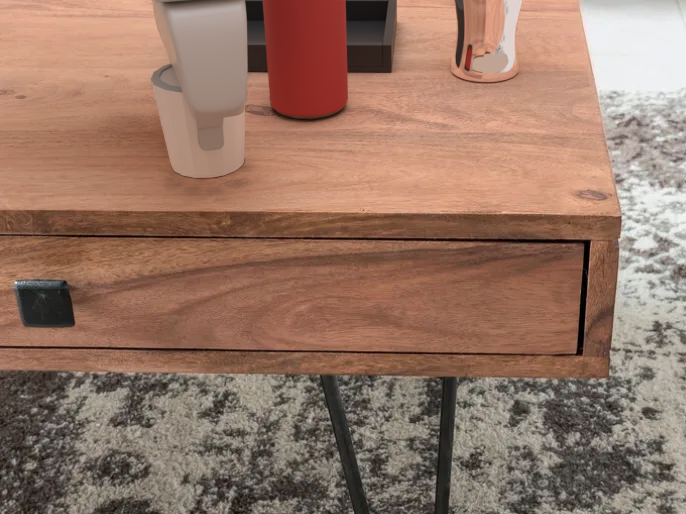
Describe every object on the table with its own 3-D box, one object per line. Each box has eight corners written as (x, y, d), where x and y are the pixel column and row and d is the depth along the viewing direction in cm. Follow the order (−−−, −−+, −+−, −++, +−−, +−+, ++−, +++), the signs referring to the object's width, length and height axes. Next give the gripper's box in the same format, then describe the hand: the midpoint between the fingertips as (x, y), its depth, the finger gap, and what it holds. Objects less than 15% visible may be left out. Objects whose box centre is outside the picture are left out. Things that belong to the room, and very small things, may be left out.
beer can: (302, 86, 93) (294, -56, 85) (363, 101, 89) (361, -45, 82) (254, 111, 88) (242, -37, 81) (316, 128, 85) (310, -24, 78)
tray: (177, 71, 96) (174, 44, 95) (204, 22, 107) (201, -3, 106) (391, 72, 95) (391, 45, 93) (396, 22, 106) (396, -3, 104)
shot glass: (263, 146, 83) (257, 59, 78) (236, 185, 77) (227, 93, 73) (181, 140, 84) (170, 54, 80) (149, 177, 79) (135, 87, 74)
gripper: (120, -94, 78) (146, 85, 86) (153, -17, 62) (181, 194, 70) (204, -101, 79) (221, 76, 88) (258, -28, 64) (273, 181, 72)
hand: (204, 129), depth 79 cm, fingers closed on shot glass, 5 cm apart
